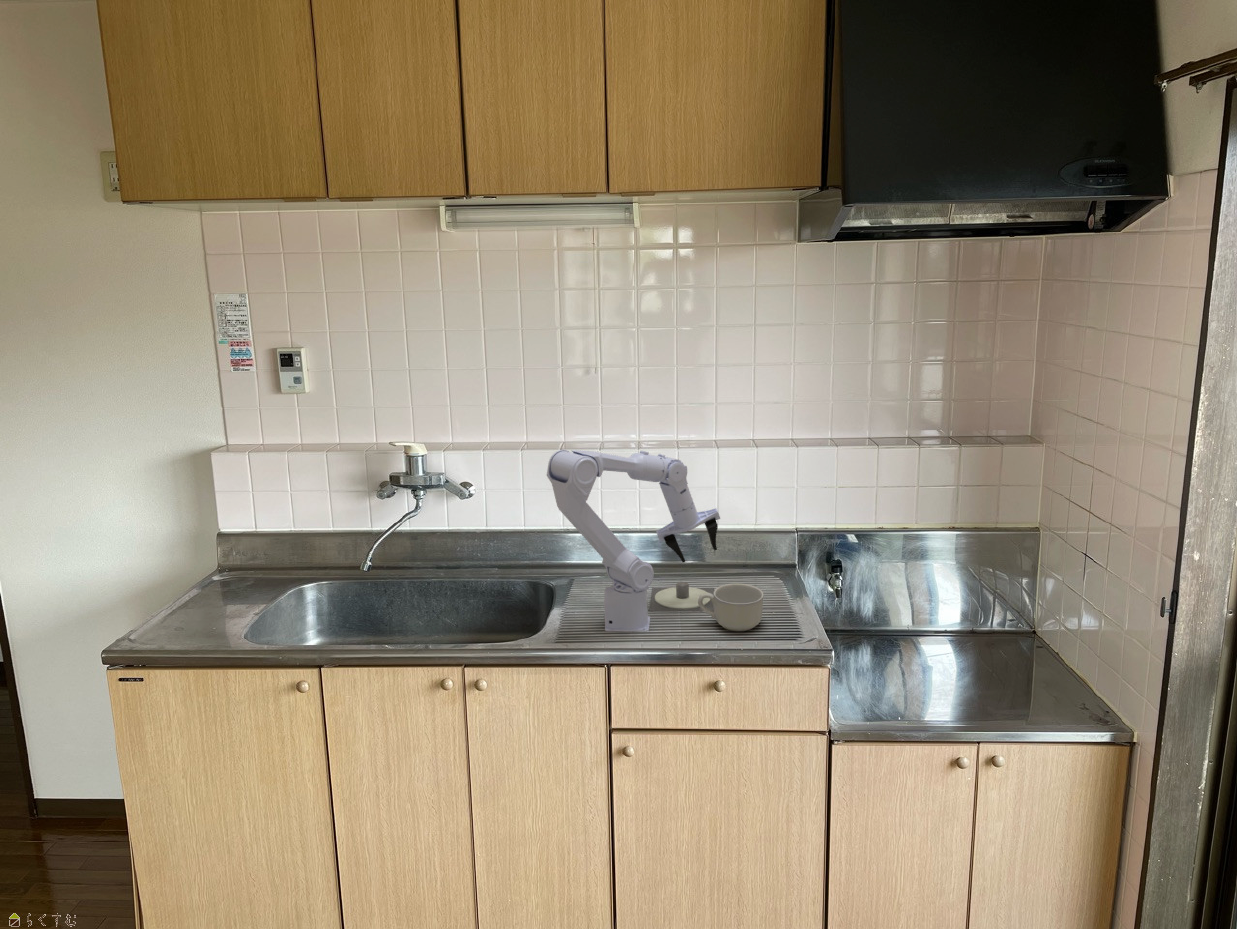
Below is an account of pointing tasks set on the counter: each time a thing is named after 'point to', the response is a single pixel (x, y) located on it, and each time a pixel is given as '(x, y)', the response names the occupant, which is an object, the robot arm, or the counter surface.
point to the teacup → (735, 606)
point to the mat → (657, 607)
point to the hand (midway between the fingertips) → (698, 554)
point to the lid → (680, 597)
